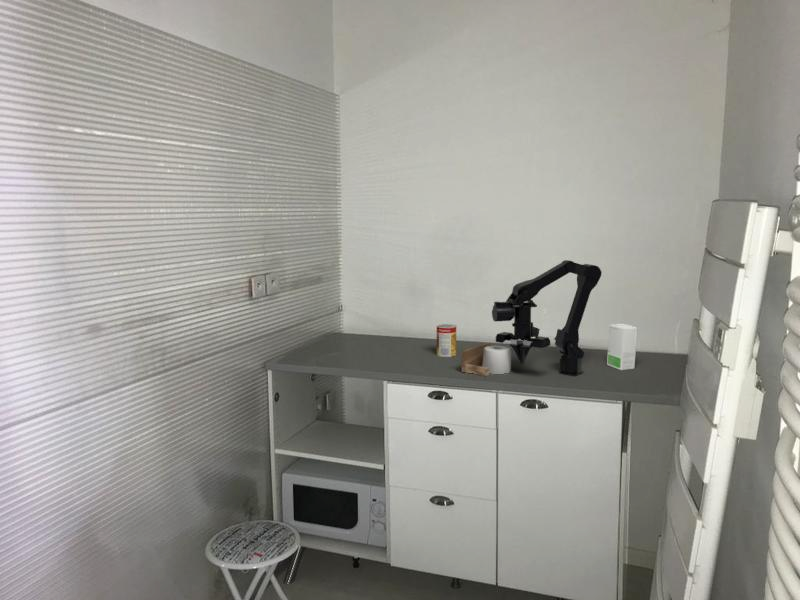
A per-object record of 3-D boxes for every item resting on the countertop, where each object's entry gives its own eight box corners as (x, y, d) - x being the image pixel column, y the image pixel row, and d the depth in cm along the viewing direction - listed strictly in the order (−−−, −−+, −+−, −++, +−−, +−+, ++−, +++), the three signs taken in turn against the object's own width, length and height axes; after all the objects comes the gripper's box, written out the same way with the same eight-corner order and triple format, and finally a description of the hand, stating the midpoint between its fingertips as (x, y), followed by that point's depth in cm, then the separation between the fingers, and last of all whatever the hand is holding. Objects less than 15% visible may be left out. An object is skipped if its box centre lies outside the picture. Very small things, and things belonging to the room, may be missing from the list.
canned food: (456, 352, 265) (456, 323, 263) (456, 357, 257) (456, 327, 255) (437, 352, 265) (437, 323, 264) (436, 357, 258) (436, 327, 256)
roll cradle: (511, 367, 240) (511, 346, 239) (486, 376, 227) (486, 354, 226) (486, 363, 246) (487, 342, 245) (461, 372, 233) (461, 350, 232)
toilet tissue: (477, 375, 229) (477, 351, 228) (490, 367, 240) (490, 344, 239) (501, 378, 225) (502, 354, 223) (513, 369, 236) (513, 346, 235)
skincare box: (606, 365, 241) (607, 324, 239) (620, 363, 243) (622, 322, 241) (621, 370, 233) (623, 328, 231) (636, 368, 236) (638, 326, 233)
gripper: (558, 319, 225) (557, 363, 227) (511, 314, 237) (511, 356, 239) (542, 324, 217) (542, 369, 219) (494, 318, 229) (494, 362, 231)
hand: (522, 363), depth 227 cm, fingers closed
